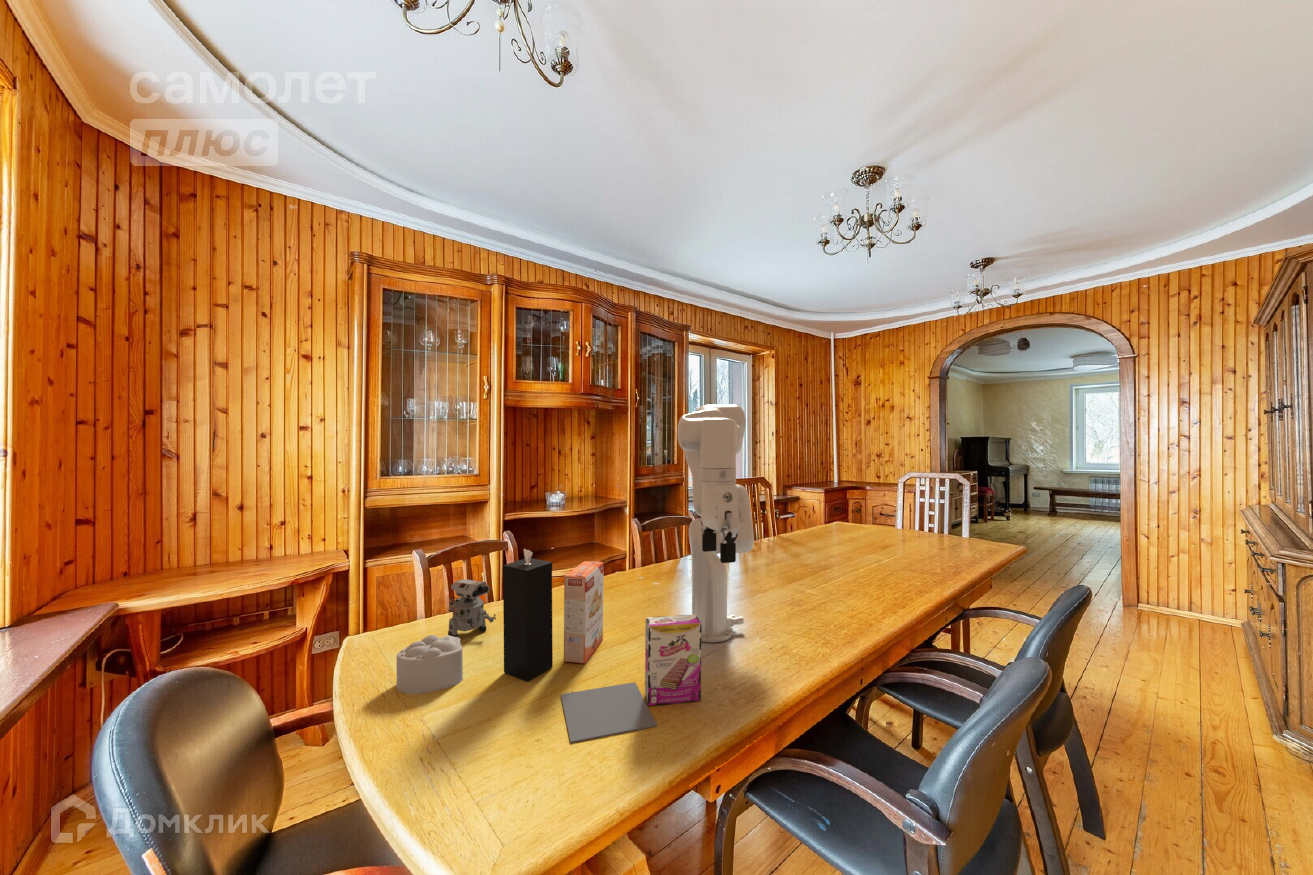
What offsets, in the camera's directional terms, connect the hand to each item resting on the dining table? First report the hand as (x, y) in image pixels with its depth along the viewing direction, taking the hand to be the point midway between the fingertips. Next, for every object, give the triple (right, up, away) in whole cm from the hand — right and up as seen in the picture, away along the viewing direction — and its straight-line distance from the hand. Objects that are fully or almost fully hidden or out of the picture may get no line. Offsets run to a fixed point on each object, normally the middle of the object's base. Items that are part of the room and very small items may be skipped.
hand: (718, 556), depth 102 cm
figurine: (-63, -29, +27) cm, 75 cm away
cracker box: (-31, -29, +18) cm, 46 cm away
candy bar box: (-10, -29, -3) cm, 30 cm away
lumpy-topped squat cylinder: (-63, -29, +4) cm, 70 cm away
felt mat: (-23, -29, -7) cm, 37 cm away
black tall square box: (-43, -29, +9) cm, 52 cm away
